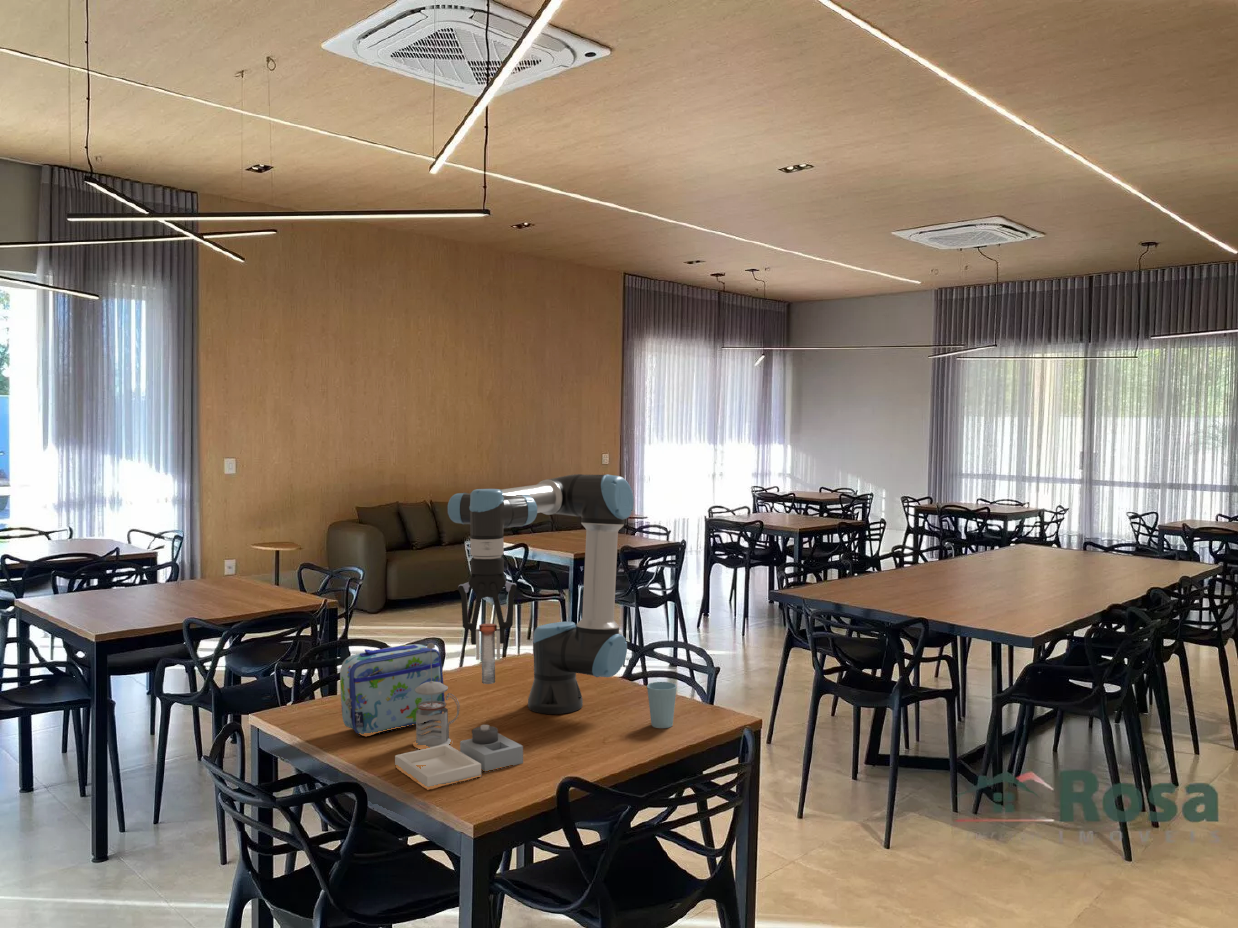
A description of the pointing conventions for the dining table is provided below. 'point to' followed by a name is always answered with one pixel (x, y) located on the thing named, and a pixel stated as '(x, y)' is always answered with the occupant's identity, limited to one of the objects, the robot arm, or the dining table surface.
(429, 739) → the french press
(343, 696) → the lunch box
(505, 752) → the grey block with knob
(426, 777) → the parts tray
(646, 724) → the dining table surface
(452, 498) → the robot arm
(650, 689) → the cup
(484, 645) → the pin
